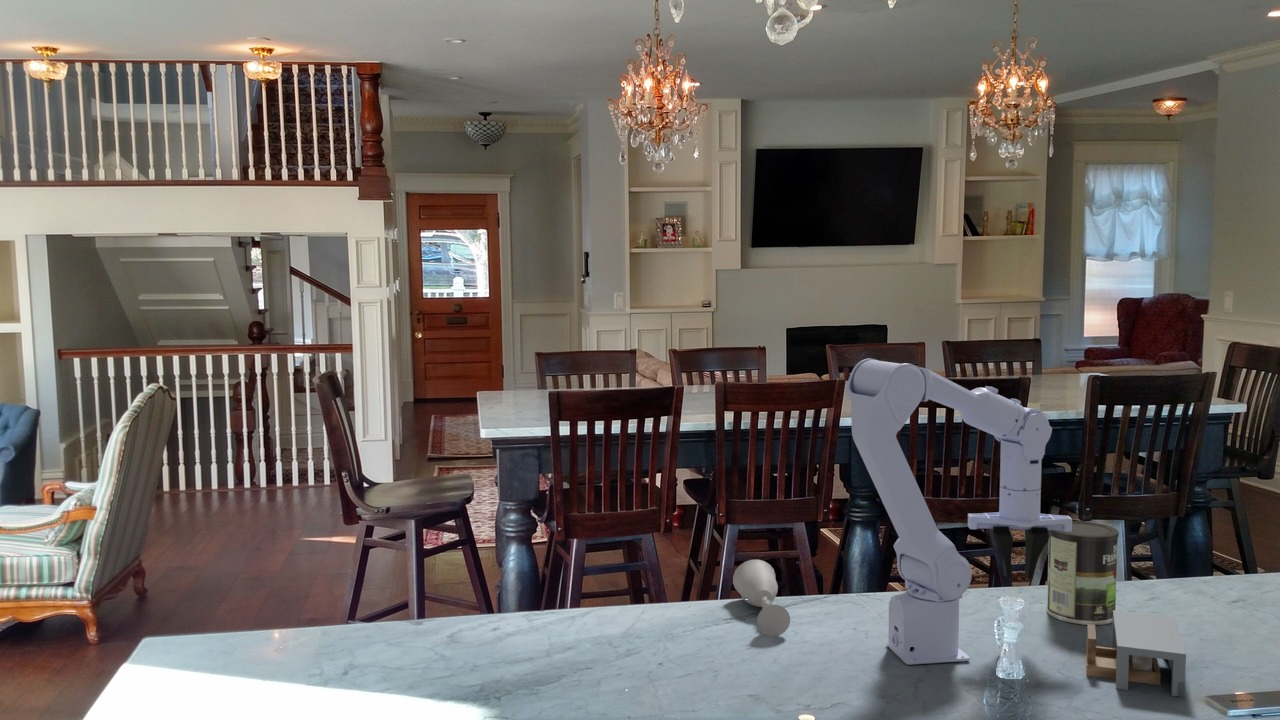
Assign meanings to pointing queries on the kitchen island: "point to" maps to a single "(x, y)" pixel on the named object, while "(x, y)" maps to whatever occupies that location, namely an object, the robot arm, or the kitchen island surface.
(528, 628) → the kitchen island surface
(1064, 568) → the coffee can
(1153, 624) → the shelf
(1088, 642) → the tray
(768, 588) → the chalice
